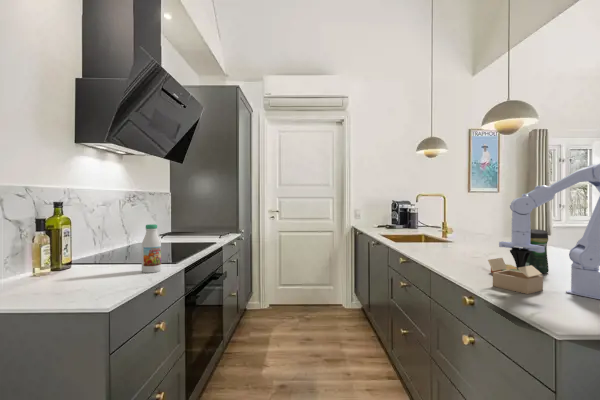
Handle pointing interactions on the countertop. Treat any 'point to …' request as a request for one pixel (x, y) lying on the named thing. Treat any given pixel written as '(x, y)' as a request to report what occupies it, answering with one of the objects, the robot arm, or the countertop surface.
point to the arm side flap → (529, 271)
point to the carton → (509, 267)
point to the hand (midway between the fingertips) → (520, 269)
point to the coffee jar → (538, 258)
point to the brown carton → (517, 281)
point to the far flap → (497, 264)
